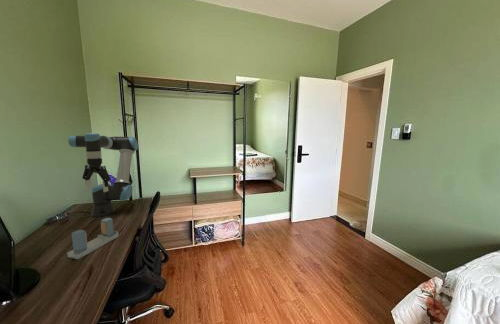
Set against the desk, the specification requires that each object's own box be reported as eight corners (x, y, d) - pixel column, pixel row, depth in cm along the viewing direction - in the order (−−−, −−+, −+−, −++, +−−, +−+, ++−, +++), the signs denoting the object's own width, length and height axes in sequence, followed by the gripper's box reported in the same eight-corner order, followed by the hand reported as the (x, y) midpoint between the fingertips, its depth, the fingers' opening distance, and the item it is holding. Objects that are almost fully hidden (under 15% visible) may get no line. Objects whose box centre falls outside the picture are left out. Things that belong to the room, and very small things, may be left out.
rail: (109, 234, 129) (108, 216, 127) (118, 236, 127) (117, 217, 126) (67, 257, 106) (64, 234, 104) (78, 259, 104) (75, 236, 103)
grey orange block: (108, 233, 127) (107, 217, 125) (113, 233, 126) (112, 218, 124) (101, 236, 122) (99, 220, 121) (106, 237, 121) (105, 221, 120)
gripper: (115, 158, 129) (118, 190, 132) (85, 156, 135) (88, 187, 138) (104, 159, 122) (107, 194, 125) (72, 157, 128) (76, 190, 131)
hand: (97, 190), depth 132 cm, fingers open, 13 cm apart
